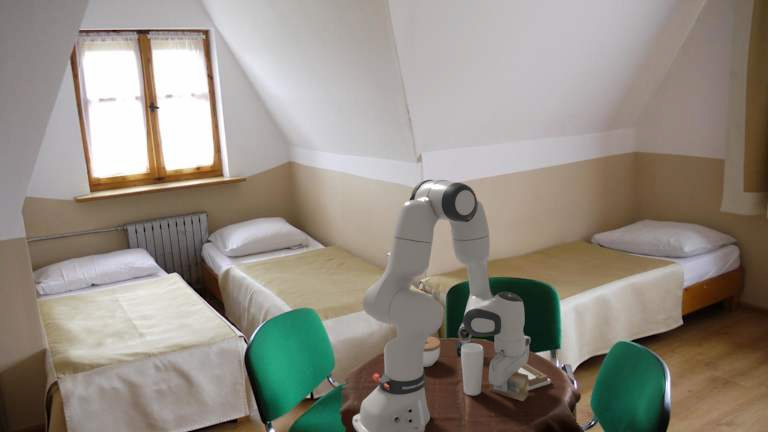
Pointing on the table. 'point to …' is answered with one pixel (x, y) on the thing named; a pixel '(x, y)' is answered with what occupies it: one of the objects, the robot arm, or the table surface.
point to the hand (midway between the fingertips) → (508, 386)
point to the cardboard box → (514, 387)
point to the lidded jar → (431, 351)
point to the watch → (462, 338)
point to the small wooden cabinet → (534, 377)
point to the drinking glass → (472, 368)
